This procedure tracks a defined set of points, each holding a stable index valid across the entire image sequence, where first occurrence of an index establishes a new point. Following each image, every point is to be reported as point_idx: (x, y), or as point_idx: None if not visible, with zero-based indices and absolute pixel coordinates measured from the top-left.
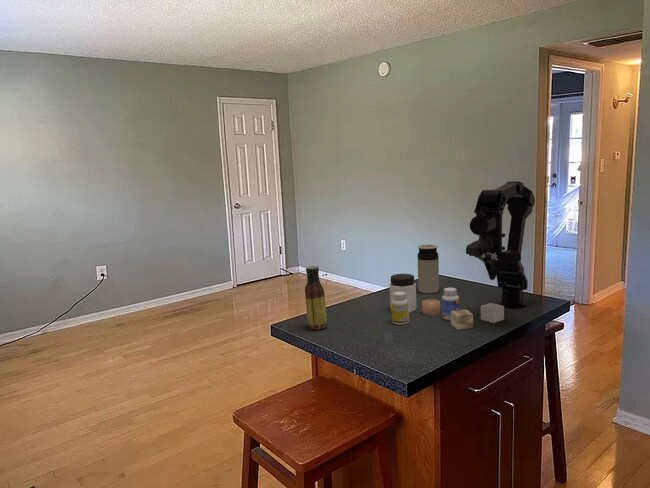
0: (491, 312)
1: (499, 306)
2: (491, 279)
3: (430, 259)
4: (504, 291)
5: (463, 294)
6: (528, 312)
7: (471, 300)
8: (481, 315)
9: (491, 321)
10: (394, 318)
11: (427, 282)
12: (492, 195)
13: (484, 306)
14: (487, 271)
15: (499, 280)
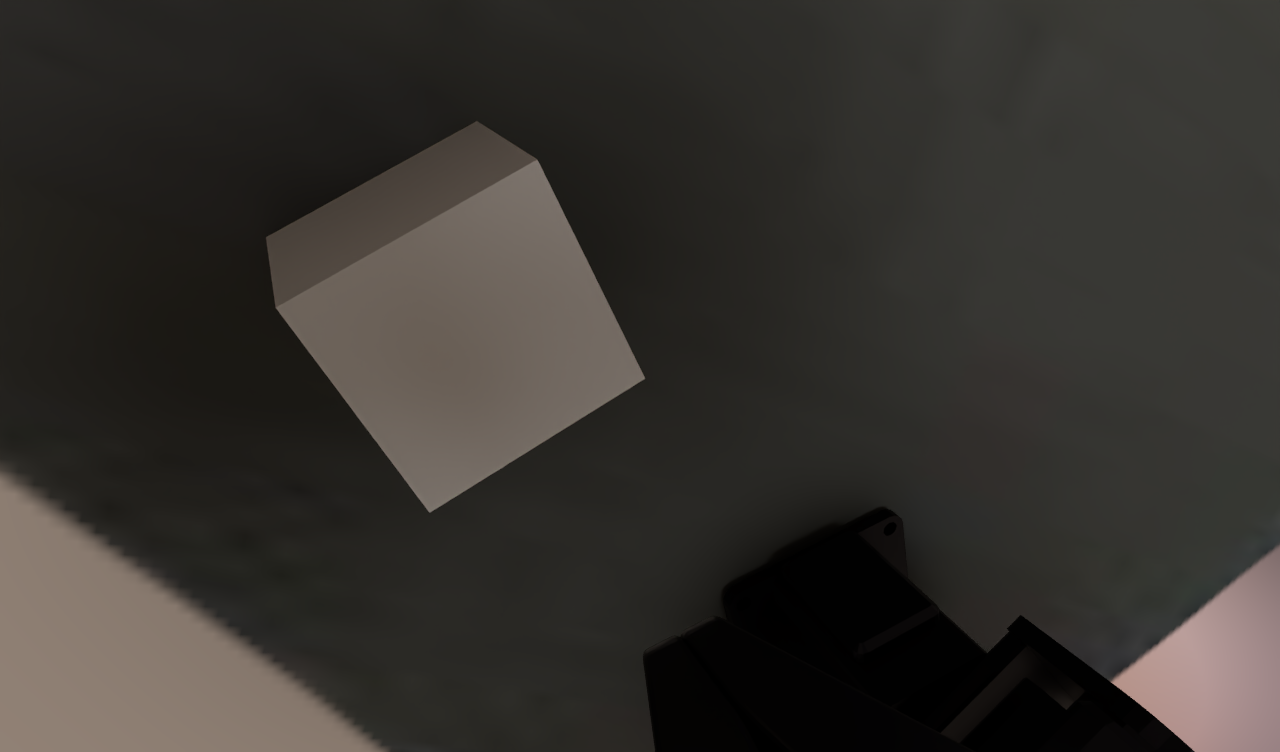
0: (311, 261)
1: (430, 447)
2: (652, 649)
3: None
4: (927, 645)
5: (1261, 275)
6: (567, 704)
7: (1099, 285)
8: (480, 139)
9: (301, 220)
10: None
11: None
12: None
13: (496, 216)
14: (929, 742)
15: (1048, 701)
